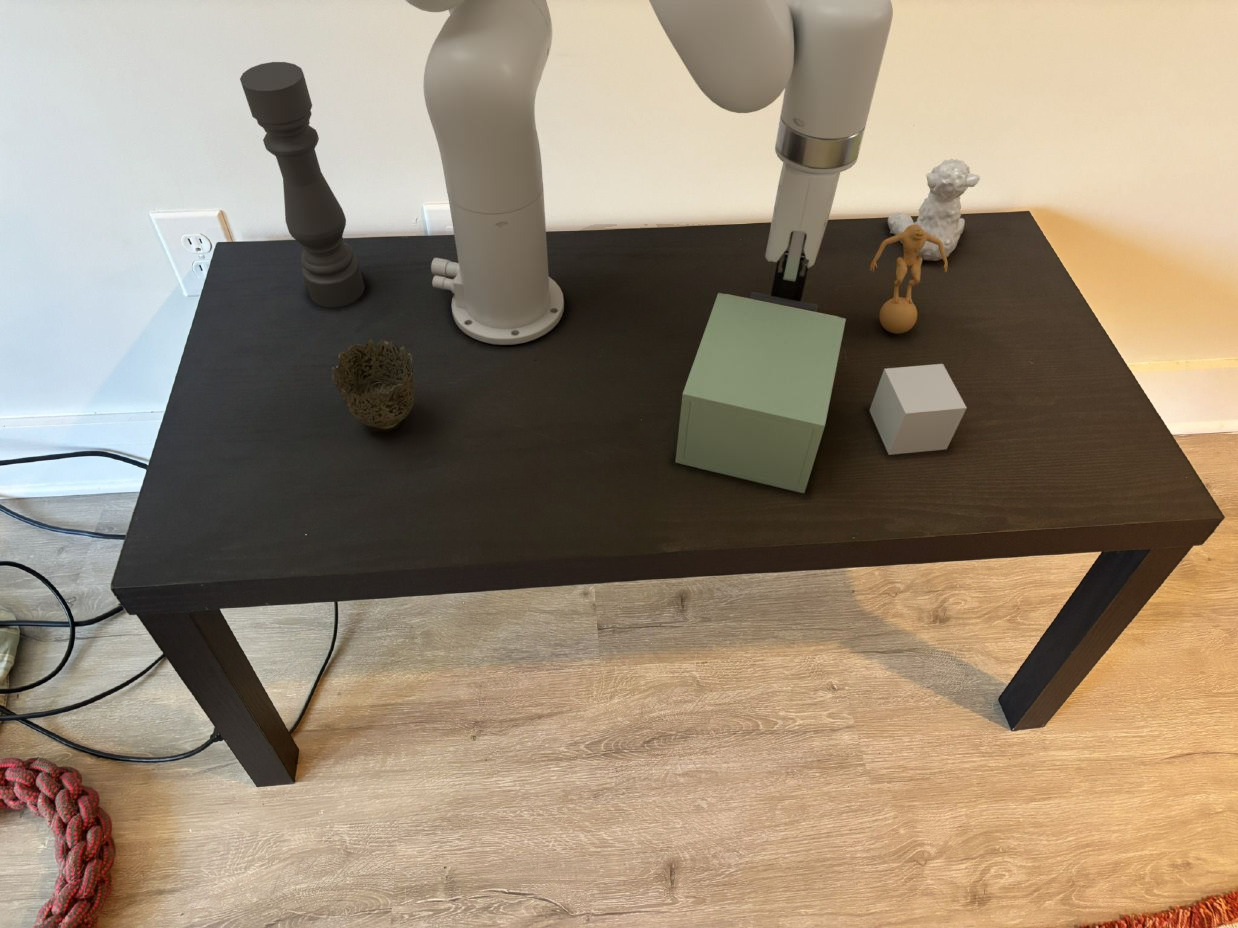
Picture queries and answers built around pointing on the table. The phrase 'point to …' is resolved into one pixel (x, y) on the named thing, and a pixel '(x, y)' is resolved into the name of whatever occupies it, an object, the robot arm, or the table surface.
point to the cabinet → (759, 392)
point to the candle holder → (304, 182)
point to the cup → (376, 384)
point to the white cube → (916, 409)
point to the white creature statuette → (939, 208)
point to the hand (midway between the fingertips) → (786, 297)
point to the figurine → (899, 310)
